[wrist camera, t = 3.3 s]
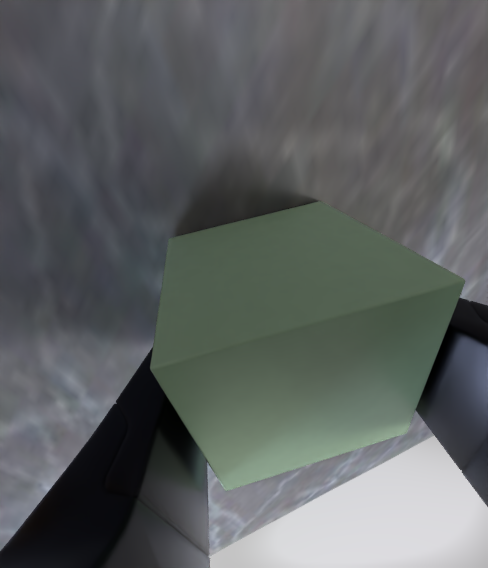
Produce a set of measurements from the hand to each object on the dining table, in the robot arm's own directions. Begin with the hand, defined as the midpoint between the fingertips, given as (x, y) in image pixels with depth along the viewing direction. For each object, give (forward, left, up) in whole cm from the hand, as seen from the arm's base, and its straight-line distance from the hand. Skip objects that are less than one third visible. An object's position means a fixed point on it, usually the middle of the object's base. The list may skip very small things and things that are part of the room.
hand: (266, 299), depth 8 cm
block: (0, 0, -1) cm, 1 cm away
